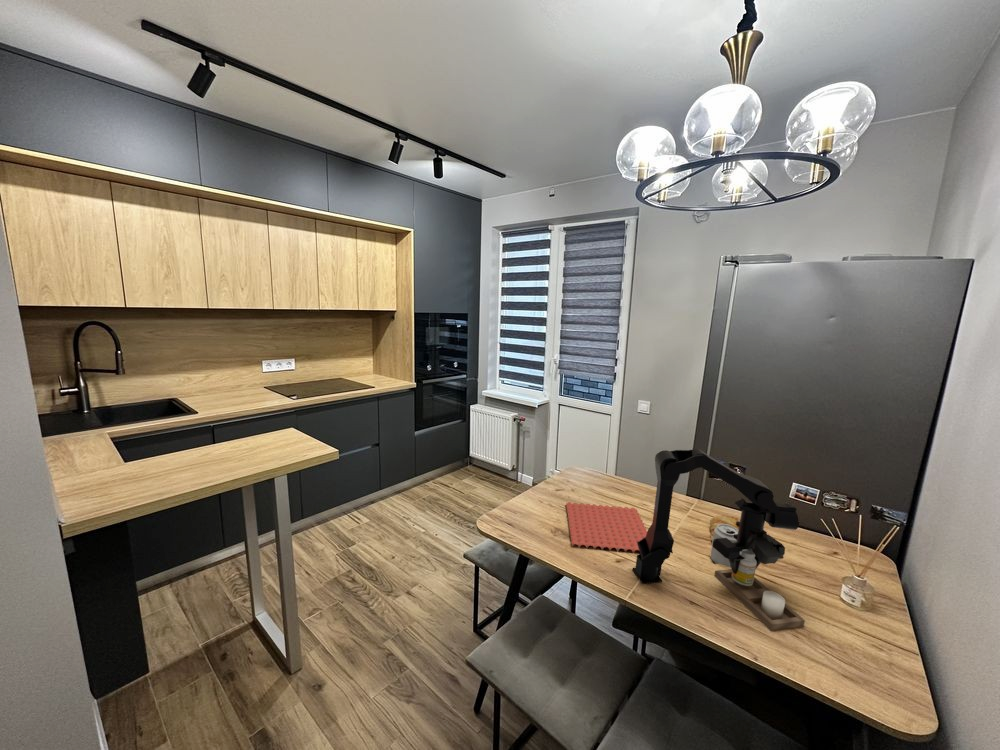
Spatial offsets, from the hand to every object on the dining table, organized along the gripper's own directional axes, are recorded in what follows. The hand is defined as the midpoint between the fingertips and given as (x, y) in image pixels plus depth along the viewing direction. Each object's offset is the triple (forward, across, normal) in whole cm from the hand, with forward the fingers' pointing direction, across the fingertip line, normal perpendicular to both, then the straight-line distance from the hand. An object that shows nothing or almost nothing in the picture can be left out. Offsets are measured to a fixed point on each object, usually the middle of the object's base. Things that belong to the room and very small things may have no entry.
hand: (743, 572), depth 112 cm
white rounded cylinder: (+5, 0, -10) cm, 11 cm away
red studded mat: (+7, -26, +35) cm, 44 cm away
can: (+6, +4, +12) cm, 14 cm away
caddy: (+6, 0, -5) cm, 8 cm away
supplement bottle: (+3, 0, 0) cm, 3 cm away
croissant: (+6, +16, +26) cm, 31 cm away
